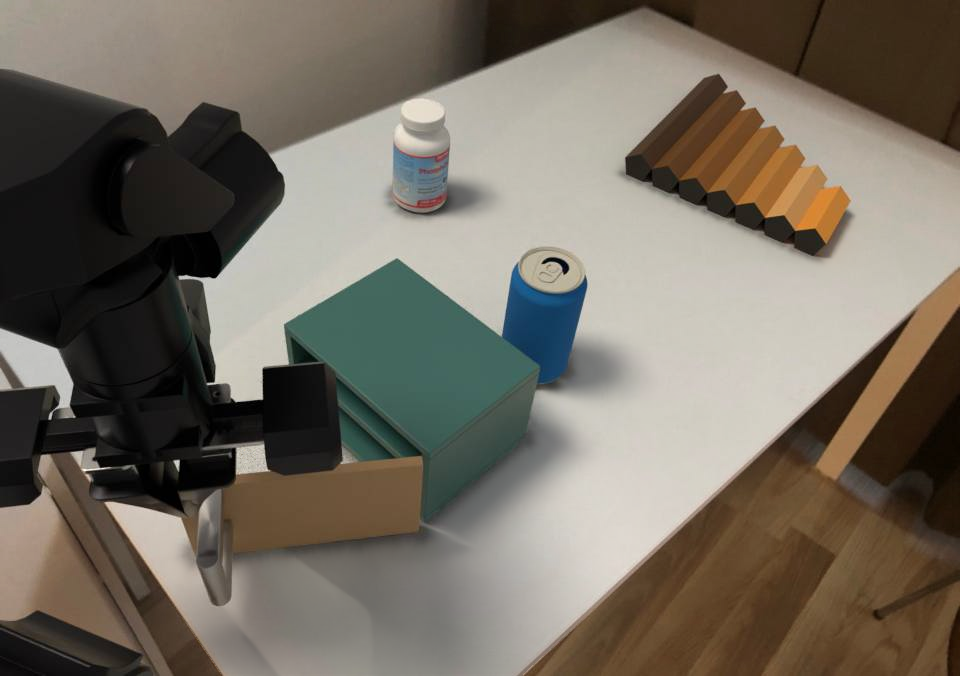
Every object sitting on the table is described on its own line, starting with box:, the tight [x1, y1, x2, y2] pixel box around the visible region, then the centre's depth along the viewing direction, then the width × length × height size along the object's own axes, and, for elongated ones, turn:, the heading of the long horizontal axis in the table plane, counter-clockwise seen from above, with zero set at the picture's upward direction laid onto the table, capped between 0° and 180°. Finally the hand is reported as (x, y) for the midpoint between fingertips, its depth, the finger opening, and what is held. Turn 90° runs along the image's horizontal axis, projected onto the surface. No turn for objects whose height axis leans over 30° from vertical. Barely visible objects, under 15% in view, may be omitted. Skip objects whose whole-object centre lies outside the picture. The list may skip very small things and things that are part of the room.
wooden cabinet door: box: [181, 456, 423, 607], centre depth 55 cm, size 6×17×9 cm, turn 100°
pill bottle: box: [392, 98, 451, 214], centre depth 86 cm, size 6×6×11 cm
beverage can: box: [501, 245, 588, 385], centre depth 70 cm, size 6×6×12 cm
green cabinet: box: [283, 257, 540, 523], centre depth 66 cm, size 12×17×10 cm
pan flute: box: [624, 73, 852, 257], centre depth 99 cm, size 25×3×25 cm
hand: (189, 510), depth 48 cm, fingers closed
